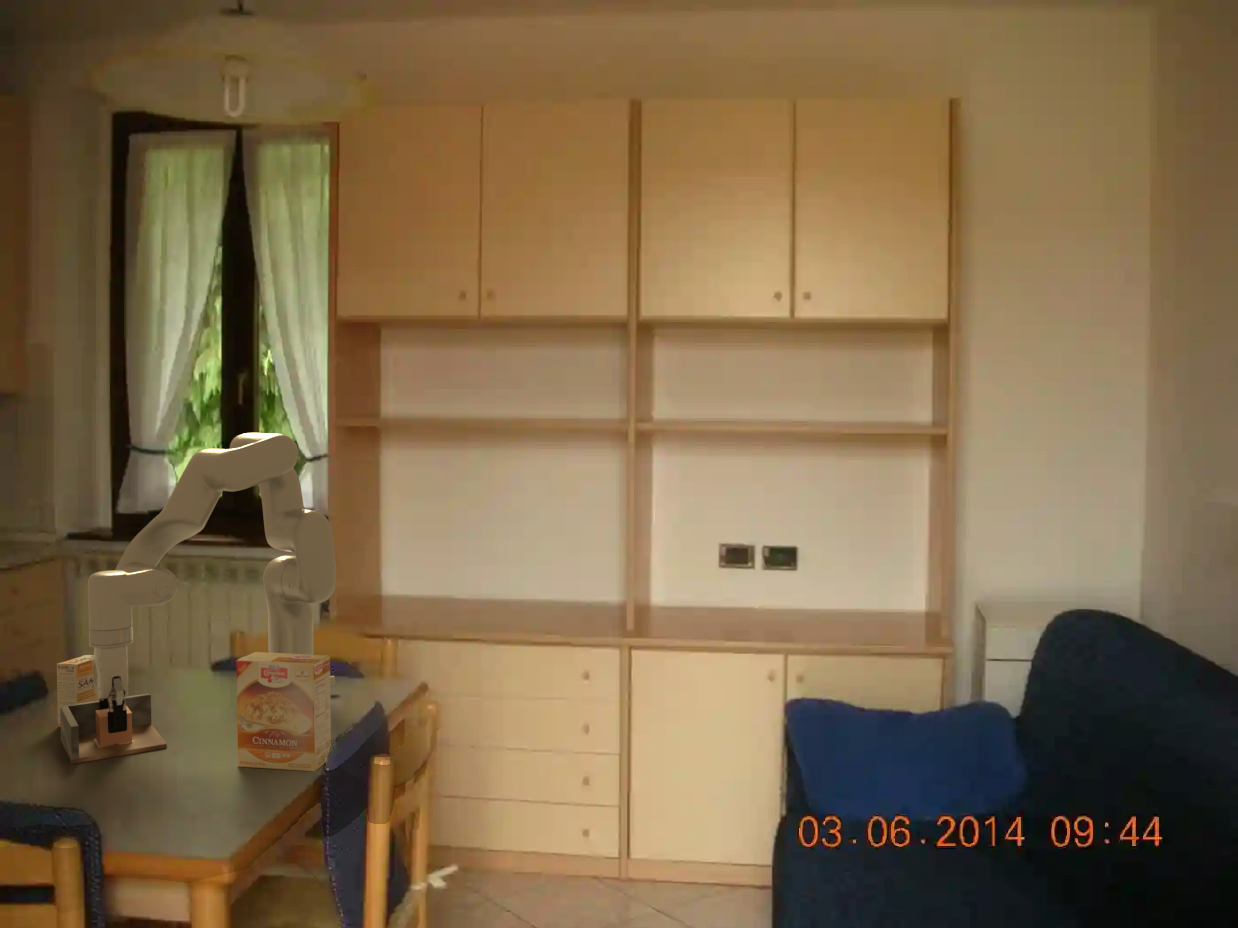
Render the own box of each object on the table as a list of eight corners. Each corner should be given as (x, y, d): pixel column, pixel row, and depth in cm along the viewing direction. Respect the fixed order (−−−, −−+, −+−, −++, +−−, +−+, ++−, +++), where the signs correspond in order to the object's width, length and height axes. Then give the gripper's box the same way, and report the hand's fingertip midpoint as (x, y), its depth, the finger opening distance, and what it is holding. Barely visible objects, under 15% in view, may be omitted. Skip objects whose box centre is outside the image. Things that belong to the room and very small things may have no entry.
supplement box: (78, 728, 208) (76, 664, 208) (57, 727, 209) (55, 663, 209) (106, 716, 216) (104, 654, 216) (85, 715, 217) (84, 653, 217)
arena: (150, 726, 210) (149, 693, 210) (166, 747, 197) (165, 712, 196) (61, 740, 201) (60, 705, 201) (71, 763, 188) (70, 726, 187)
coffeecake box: (236, 767, 186) (234, 659, 185) (256, 754, 193) (255, 650, 192) (314, 772, 184) (313, 663, 183) (332, 759, 191) (331, 653, 190)
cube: (96, 738, 199) (95, 709, 199) (127, 733, 202) (126, 705, 202) (100, 746, 195) (99, 716, 194) (132, 741, 198) (131, 712, 197)
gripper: (82, 630, 202) (85, 717, 203) (96, 647, 188) (98, 740, 189) (124, 626, 207) (126, 711, 208) (141, 642, 192) (143, 733, 193)
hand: (113, 725), depth 198 cm, fingers open, 9 cm apart
